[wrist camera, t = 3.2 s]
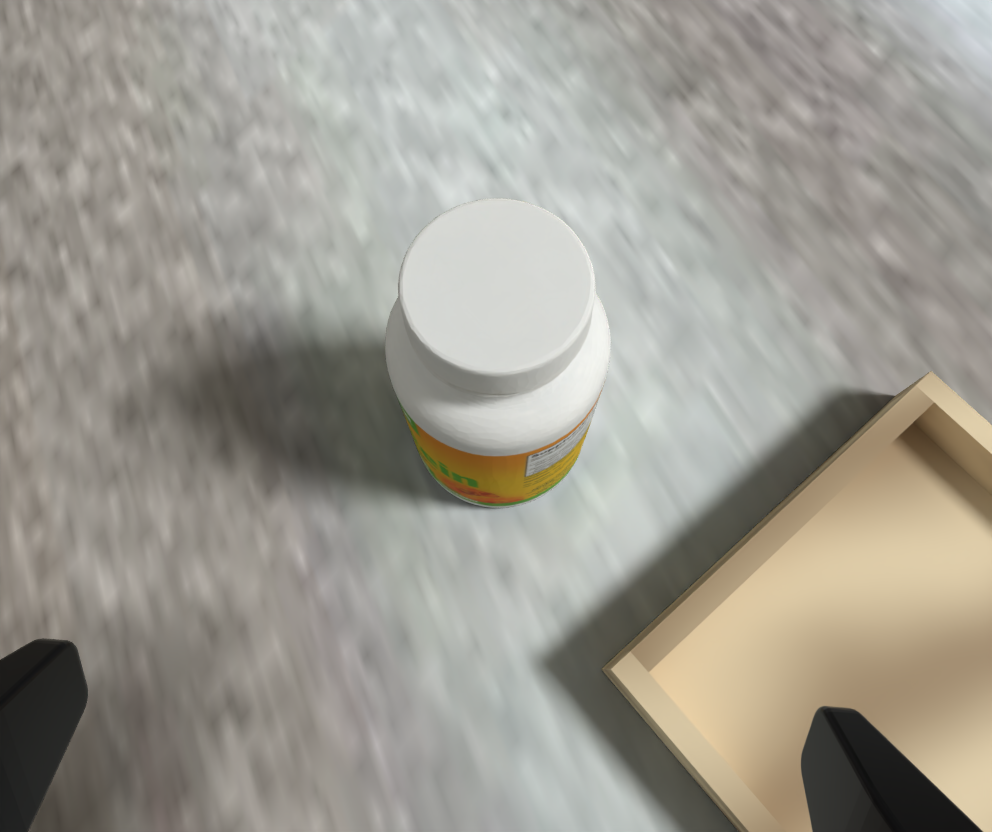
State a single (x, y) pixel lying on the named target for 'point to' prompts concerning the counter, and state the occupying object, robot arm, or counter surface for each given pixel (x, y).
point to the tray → (840, 621)
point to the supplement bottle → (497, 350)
